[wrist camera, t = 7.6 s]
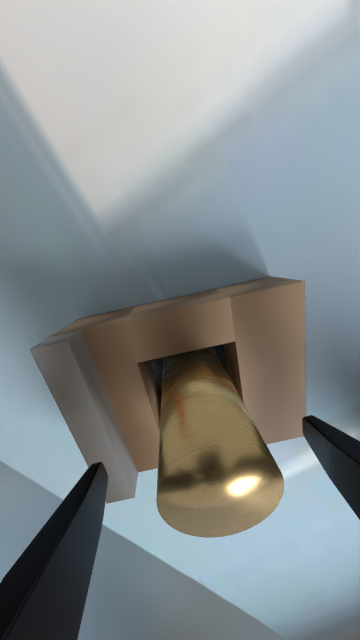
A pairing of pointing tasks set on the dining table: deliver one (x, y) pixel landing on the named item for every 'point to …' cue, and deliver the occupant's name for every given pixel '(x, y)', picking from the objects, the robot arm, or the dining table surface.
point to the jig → (169, 339)
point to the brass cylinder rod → (211, 452)
